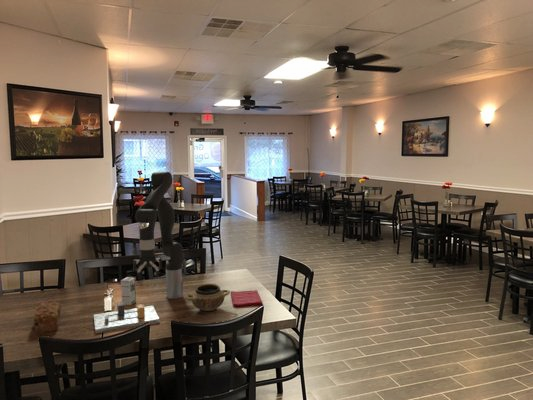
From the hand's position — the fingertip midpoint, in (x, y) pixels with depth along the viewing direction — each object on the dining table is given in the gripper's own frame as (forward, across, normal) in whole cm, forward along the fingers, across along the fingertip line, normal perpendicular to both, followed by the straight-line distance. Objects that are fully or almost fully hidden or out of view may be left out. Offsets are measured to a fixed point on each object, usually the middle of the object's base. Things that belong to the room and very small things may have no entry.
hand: (148, 278), depth 211 cm
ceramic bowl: (+21, -31, +1) cm, 37 cm away
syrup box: (+21, +10, -25) cm, 34 cm away
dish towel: (+21, -55, -8) cm, 60 cm away
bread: (+22, +48, -8) cm, 53 cm away
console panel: (+21, +12, 0) cm, 24 cm away
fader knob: (+19, +4, +2) cm, 19 cm away
